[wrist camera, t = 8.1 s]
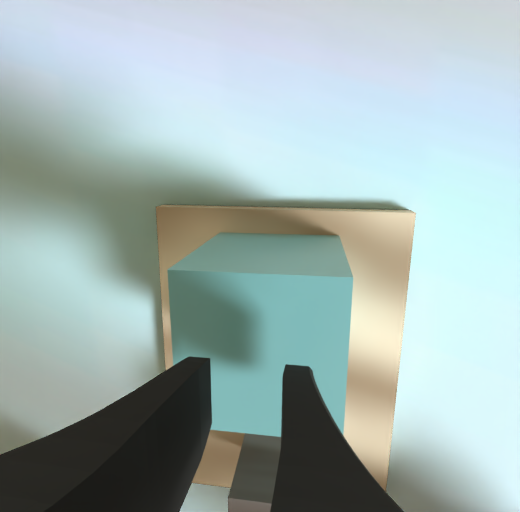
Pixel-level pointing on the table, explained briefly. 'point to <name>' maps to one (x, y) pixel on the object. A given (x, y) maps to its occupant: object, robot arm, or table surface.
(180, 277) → the pale aqua cube
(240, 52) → the table surface
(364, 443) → the birch board
